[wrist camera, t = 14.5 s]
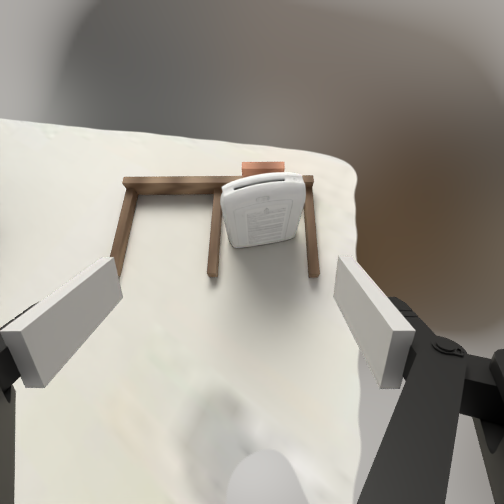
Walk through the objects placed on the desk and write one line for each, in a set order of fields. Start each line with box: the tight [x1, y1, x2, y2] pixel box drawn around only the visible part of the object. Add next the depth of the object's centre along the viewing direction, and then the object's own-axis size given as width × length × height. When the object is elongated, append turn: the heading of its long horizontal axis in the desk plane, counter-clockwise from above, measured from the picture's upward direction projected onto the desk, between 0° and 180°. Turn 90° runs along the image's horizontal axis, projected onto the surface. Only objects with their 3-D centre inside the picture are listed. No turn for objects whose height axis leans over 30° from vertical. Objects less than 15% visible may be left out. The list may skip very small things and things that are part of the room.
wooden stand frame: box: [110, 162, 320, 278], centre depth 38 cm, size 29×15×6 cm, turn 89°
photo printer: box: [220, 172, 306, 248], centre depth 34 cm, size 10×4×12 cm, turn 100°
